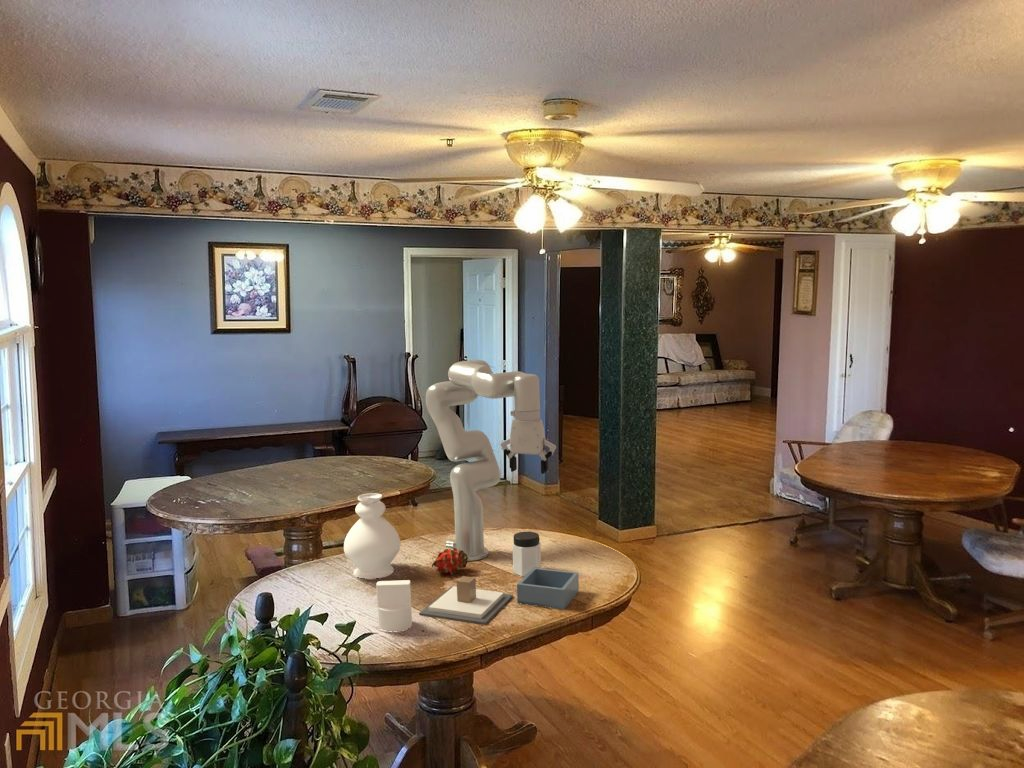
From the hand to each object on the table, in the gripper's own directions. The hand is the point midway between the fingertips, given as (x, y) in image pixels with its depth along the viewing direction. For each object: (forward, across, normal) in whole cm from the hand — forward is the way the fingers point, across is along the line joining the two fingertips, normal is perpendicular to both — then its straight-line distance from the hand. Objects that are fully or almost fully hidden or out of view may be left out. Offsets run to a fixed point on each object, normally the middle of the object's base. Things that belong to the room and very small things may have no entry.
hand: (528, 471), depth 237 cm
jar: (+34, -4, +7) cm, 35 cm away
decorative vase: (+34, -51, -8) cm, 62 cm away
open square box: (+35, +9, -10) cm, 37 cm away
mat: (+34, -11, -23) cm, 43 cm away
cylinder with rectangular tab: (+35, -24, -41) cm, 59 cm away
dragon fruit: (+35, -27, -1) cm, 44 cm away
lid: (+34, -11, -23) cm, 42 cm away
